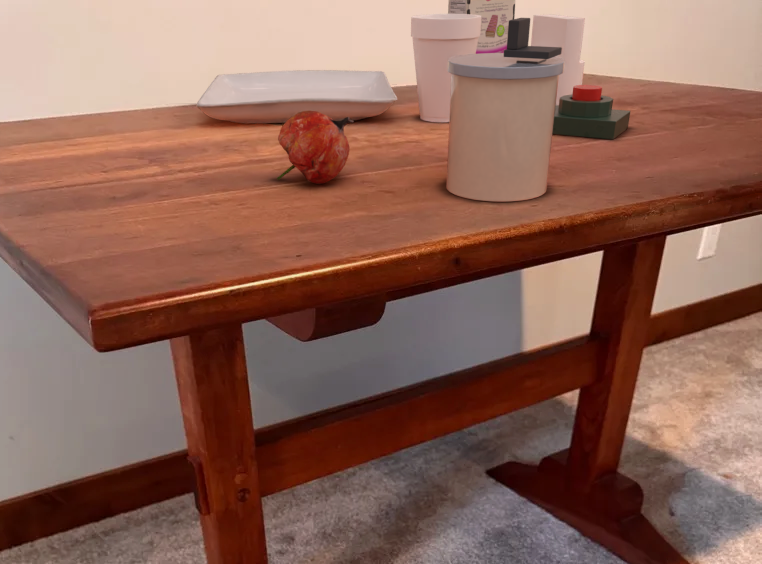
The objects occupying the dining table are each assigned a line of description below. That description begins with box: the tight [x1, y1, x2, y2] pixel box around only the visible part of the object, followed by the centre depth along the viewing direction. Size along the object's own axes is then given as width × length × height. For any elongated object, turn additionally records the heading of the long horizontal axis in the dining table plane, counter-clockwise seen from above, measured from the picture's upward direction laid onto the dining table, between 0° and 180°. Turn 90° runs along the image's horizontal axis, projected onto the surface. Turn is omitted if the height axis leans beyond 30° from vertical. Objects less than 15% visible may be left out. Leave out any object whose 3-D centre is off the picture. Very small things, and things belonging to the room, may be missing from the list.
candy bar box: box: [447, 0, 516, 54], centre depth 131 cm, size 11×5×16 cm, turn 129°
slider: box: [504, 17, 562, 59], centre depth 73 cm, size 4×4×3 cm
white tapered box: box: [530, 13, 586, 105], centre depth 119 cm, size 9×9×12 cm
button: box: [572, 84, 603, 101], centre depth 102 cm, size 4×4×2 cm
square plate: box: [196, 69, 398, 124], centre depth 119 cm, size 27×27×4 cm
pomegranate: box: [276, 111, 355, 185], centre depth 82 cm, size 7×7×10 cm
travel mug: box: [445, 53, 565, 203], centre depth 78 cm, size 11×11×12 cm
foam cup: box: [410, 13, 481, 123], centre depth 110 cm, size 10×9×13 cm
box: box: [552, 94, 631, 141], centre depth 104 cm, size 10×8×4 cm
